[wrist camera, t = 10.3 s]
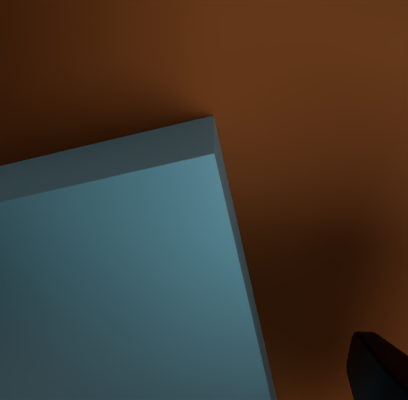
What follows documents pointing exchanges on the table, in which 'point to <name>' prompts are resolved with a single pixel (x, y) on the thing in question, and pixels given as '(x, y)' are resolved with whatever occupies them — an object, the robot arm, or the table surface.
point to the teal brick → (127, 274)
